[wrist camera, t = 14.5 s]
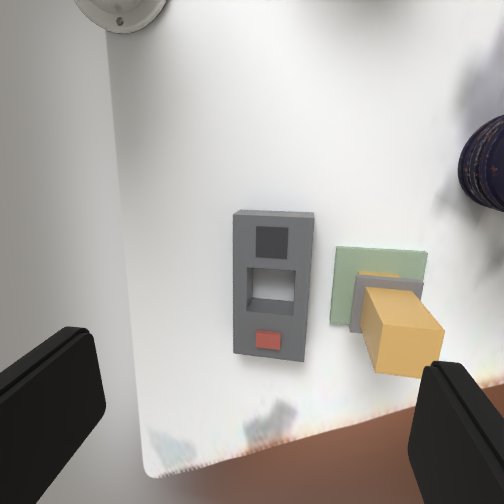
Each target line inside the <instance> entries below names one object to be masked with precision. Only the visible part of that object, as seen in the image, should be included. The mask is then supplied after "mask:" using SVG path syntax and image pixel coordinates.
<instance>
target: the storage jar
mask: <svg viewBox="0 0 504 504" xmlns="http://www.w3.org/2000/svg"><path fill="white" fill-rule="evenodd" d="M458 177H459V182H460V184H461V187H462V189H463V190H464V192H465V193H466V194H467V195H468V196H469V197H470V198H471V199H472V200H473V201H475V202H476V203H478V204H480V205H482V206H486V207H489V208H493V209H496V210H498V211H502V212H504V115H502V116H499V117H496V118H494V119H492V120H491V121H489V122H487V123H486V124H484V125H483V126H481V127H480V128H479V129H478V130H477V131H476V132H475V133H474V134H473V135H472V136H471V137H470V138H469V140H468V141H467V143H466V144H465V146H464V148H463V150H462V152H461V155H460V158H459V163H458Z"/></svg>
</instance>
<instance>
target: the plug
mask: <svg viewBox="0 0 504 504" xmlns="http://www.w3.org/2000/svg"><path fill="white" fill-rule="evenodd" d="M423 285H424V283H423V282H422V281H421V280H419V279H407V278H401V277H400V276H399V275H398V274H390V273H378V272H366V271H358V274H356V277H355V285H354V292H353V300H352V308H351V316H350V323H349V330H350V332H354V333H363V336H364V339H365V342H366V345H367V348H368V351H369V355H370V358H371V361H372V364H373V367H374V370H375V373H383V374H390V375H397V376H405V377H412V378H419V379H421V378H422V373H423V369H424V367H425V366H431V363H432V362H433V361H438V360H439V356H440V351H441V347H442V342H443V338H444V334H445V330H444V329H443V328H442V327H441V325H440V324H439V323H438V322H437V321H436V319H435V318H434V317H433V316H432V315H431V313H430V312H429V311H428V310H427V309H426V307H425V306H424V305H423V304H422V303H421V301H420V300H421V295H422V290H423Z"/></svg>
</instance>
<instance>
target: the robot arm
mask: <svg viewBox="0 0 504 504" xmlns="http://www.w3.org/2000/svg"><path fill="white" fill-rule="evenodd" d="M74 1H75V3H76V4H77V6H78V7H79V8H80V10H81V11H82V12H83V14H85V15H86V16H87V17H88V18H89V19H90V20H91V21H92V22H94V23H95V24H97V25H98V26H100V27H102V28H104V29H106V30H108V31H111V32H115V33H130V32H134V31H138V30H140V29H141V28H143V27H145V26H147V25H148V24H149V23H150V22H151V21H153V20H154V19H155V17H156V16H157V15H158V14H159V12H160V11H161V10H162V8H163V6H164V4H165V2H166V0H74ZM105 409H106V401H105V395H104V391H103V385H102V380H101V375H100V369H99V364H98V359H97V353H96V348H95V343H94V338H93V336H92V334H90V333H89V331H88V330H87V329H86V328H79V327H64V328H62V329H61V330H60V331H58V332H57V333H55V334H54V335H53V336H51V337H50V338H48V339H47V340H45V341H44V342H43V343H41V344H40V345H38V346H37V347H36V348H34V349H33V350H31V351H30V352H29V353H27V354H26V355H25V356H23V357H22V358H20V359H19V360H17V361H16V362H15V363H14V364H12V365H11V366H9V367H8V368H6V369H5V370H4V371H2V372H1V373H0V504H36V502H37V501H38V500H39V499H40V497H41V496H42V495H43V494H44V492H45V491H46V490H47V488H48V487H49V486H50V485H51V483H52V482H53V481H54V479H55V478H56V477H57V475H58V474H59V473H60V471H61V470H62V469H63V467H64V466H65V465H66V464H67V462H68V461H69V460H70V458H71V457H72V456H73V455H74V453H75V452H76V451H77V449H78V448H79V447H80V446H81V444H82V443H83V442H84V440H85V439H86V438H87V436H88V435H89V434H90V433H91V431H92V430H93V429H94V427H95V426H96V425H97V423H98V422H99V421H100V419H101V418H102V417H103V415H104V412H105ZM408 455H409V460H410V464H411V466H412V469H413V472H414V475H415V478H416V480H417V484H418V486H419V489H420V492H421V495H422V498H423V501H424V503H425V504H504V418H503V417H502V416H501V415H500V413H499V412H498V411H497V409H496V408H495V407H494V406H493V404H492V403H491V401H490V400H489V399H488V398H487V396H486V395H485V394H484V392H483V391H482V390H481V388H480V387H479V386H478V385H477V383H476V382H475V381H474V379H473V378H472V377H471V375H470V374H469V373H468V372H467V370H466V369H465V368H464V366H463V365H462V364H460V363H455V362H445V361H433V362H432V363H431V366H425V367H424V369H423V373H422V378H421V383H420V388H419V393H418V398H417V403H416V408H415V413H414V417H413V422H412V428H411V432H410V437H409V442H408Z"/></svg>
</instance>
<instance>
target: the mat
mask: <svg viewBox="0 0 504 504" xmlns="http://www.w3.org/2000/svg"><path fill="white" fill-rule="evenodd" d="M427 255H428V253H427V252H425V251H409V250H391V249H374V248H357V247H339V246H337V247H336V257H335V268H334V279H333V290H332V300H331V311H330V323H335V324H345V325H349V323H350V316H351V308H352V300H353V292H354V285H355V277H356V274H358V271H366V272H378V273H390V274H398V275H399V276H400V277H401V278H407V279H419V280H421V281H422V282H423V277H424V272H425V266H426V261H427Z"/></svg>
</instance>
